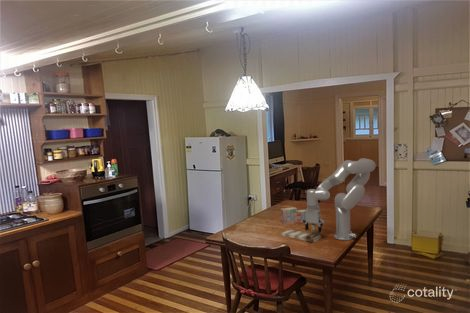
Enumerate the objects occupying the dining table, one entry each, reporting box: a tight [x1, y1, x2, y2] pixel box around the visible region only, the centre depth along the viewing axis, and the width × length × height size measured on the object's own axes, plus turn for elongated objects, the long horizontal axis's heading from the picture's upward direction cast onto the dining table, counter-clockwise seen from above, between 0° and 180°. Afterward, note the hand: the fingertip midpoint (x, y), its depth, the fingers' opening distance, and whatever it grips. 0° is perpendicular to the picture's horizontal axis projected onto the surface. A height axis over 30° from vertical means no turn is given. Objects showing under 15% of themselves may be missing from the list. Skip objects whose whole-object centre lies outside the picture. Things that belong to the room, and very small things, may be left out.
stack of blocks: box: [280, 206, 306, 226], centre depth 276 cm, size 21×6×12 cm, turn 101°
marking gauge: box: [305, 223, 321, 243], centre depth 233 cm, size 5×14×10 cm, turn 140°
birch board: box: [281, 229, 322, 243], centre depth 240 cm, size 26×10×2 cm, turn 50°
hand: (313, 230), depth 233 cm, fingers open, 9 cm apart
